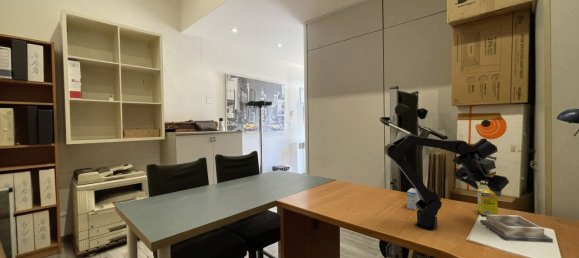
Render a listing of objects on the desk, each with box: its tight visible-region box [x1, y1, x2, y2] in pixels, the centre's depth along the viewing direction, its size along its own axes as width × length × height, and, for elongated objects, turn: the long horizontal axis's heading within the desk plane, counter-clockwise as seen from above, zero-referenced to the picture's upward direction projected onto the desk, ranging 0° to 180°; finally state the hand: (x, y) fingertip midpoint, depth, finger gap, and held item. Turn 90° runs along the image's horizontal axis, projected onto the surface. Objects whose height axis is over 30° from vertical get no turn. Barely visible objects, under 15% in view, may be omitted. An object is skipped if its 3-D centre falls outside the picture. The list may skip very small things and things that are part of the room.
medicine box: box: [406, 187, 420, 211], centre depth 124 cm, size 8×4×9 cm, turn 141°
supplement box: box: [477, 188, 499, 217], centre depth 111 cm, size 6×6×11 cm
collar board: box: [479, 214, 554, 243], centre depth 94 cm, size 15×15×4 cm
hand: (488, 192), depth 102 cm, fingers open, 9 cm apart
